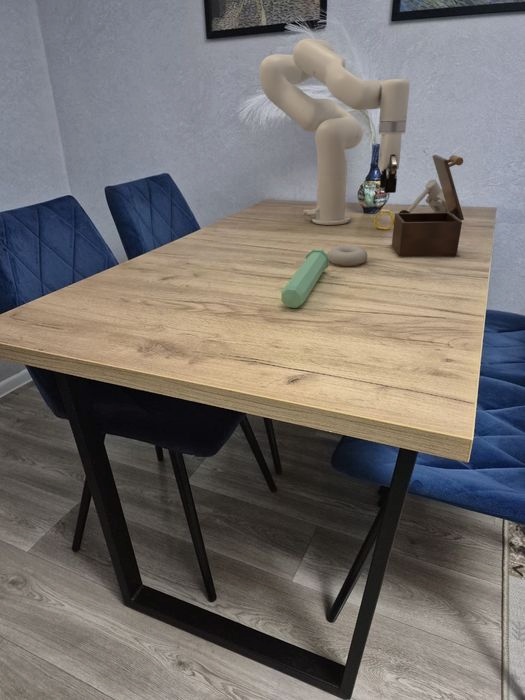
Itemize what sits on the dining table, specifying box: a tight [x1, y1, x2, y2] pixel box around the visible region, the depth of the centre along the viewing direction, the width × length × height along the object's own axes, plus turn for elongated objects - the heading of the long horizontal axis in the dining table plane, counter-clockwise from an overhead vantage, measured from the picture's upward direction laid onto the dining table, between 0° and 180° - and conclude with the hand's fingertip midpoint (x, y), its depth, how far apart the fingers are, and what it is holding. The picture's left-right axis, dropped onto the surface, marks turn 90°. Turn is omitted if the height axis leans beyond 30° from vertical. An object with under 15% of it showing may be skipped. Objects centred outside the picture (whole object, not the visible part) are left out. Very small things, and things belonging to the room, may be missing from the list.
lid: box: [431, 154, 465, 222], centre depth 119 cm, size 15×12×5 cm
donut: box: [327, 244, 368, 267], centre depth 120 cm, size 10×4×10 cm
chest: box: [391, 212, 463, 258], centre depth 125 cm, size 15×12×9 cm
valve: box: [398, 179, 453, 215], centre depth 158 cm, size 10×20×15 cm
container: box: [280, 248, 330, 309], centre depth 103 cm, size 6×6×25 cm
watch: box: [373, 208, 395, 231], centre depth 148 cm, size 6×3×6 cm, turn 62°
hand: (387, 190), depth 144 cm, fingers open, 9 cm apart
